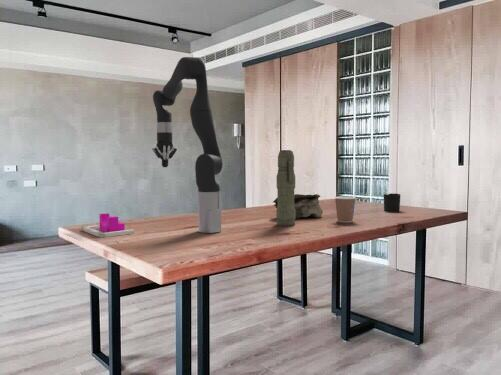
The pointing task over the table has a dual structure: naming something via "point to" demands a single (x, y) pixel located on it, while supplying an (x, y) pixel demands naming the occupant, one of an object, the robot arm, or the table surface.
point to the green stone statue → (285, 189)
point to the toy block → (110, 223)
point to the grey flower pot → (345, 208)
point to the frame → (107, 234)
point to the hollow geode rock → (305, 205)
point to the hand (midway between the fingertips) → (165, 167)
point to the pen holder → (392, 202)
